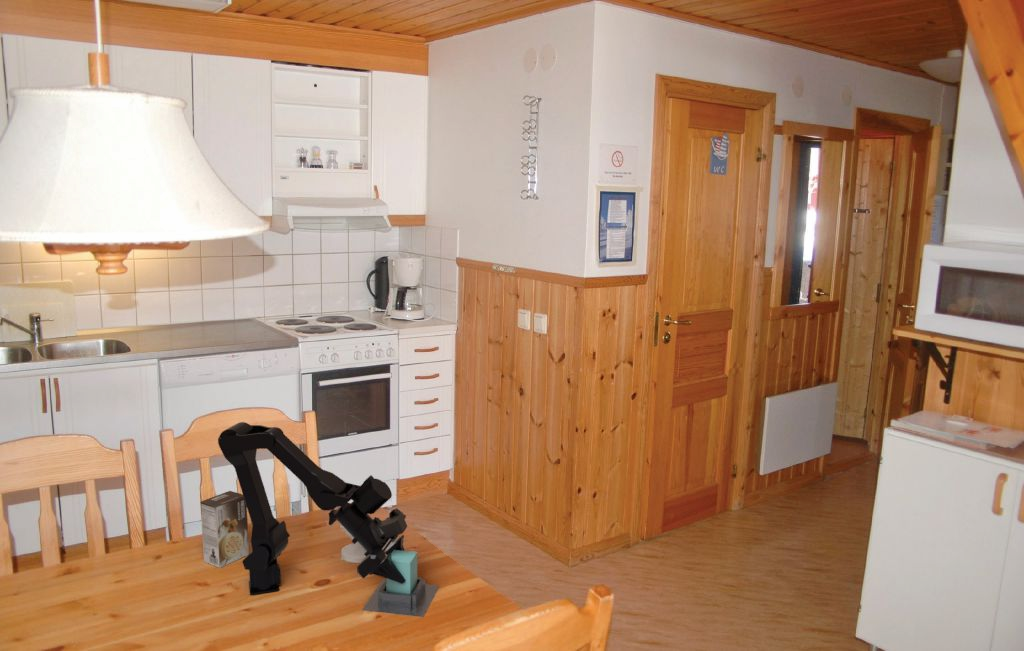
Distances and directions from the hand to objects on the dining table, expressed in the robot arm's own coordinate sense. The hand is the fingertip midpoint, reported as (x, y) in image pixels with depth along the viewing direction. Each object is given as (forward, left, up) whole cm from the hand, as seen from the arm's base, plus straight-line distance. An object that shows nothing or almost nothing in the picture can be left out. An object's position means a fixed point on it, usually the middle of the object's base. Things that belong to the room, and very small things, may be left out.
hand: (407, 576), depth 177 cm
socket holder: (-1, +1, -7) cm, 7 cm away
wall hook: (-7, +26, -7) cm, 28 cm away
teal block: (-1, +1, -5) cm, 6 cm away
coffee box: (-38, +36, -7) cm, 53 cm away
